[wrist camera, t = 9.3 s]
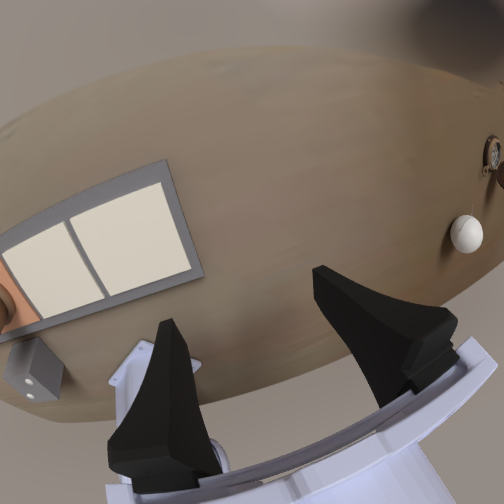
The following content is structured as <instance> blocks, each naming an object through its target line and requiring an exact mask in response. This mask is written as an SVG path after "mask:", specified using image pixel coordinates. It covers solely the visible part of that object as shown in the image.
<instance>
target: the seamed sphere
mask: <svg viewBox="0 0 504 504" xmlns="http://www.w3.org/2000/svg"><path fill="white" fill-rule="evenodd" d="M472 211H473V205H472ZM450 236H451V241H452V243H453V245H454V247H455V248H456V249H457V250H458V251H461V252H463V253H471V252H474V251H475V250H477V249H478V248H479V246H480V245H481V243H482V238H483V231H482V227H481V225H480V223H479V222H478V221H477V220H476V219H475V218H474V217H472V216H469V215H463V216H460V217H458V218H457V219H456V220H455V221H454V223H453V224H452V227H451V230H450Z"/></svg>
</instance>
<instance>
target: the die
mask: <svg viewBox="0 0 504 504" xmlns="http://www.w3.org/2000/svg"><path fill="white" fill-rule="evenodd" d="M63 368H64V364H63V363H62V362H61V361H60V360H59V359H58V358H57V357H56V356H55V355H54V354H53V352H52V351H51V350H50V349H49V348H48V347H47V346H46V345H45V344H44V342H43V341H42V340H41V339H40V338H39V337H36V338H33V339H30V340H26V341H23V342H20V343H16V344H13V346H12V349H11V352H10V355H9V358H8V361H7V365H6V368H5V372H4V375H3V378H4V379H5V380H6V381H7V382H8V383H9V384H10V385H11V386H12V387H13V388H15V389H16V390H17V391H18V392H19V393H20V394H21V395H23V396H24V397H25V398H26V399H27V400H29V401H30V402H31V403H35V402H44V401H52V400H59V396H60V388H61V381H62V374H63Z"/></svg>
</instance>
